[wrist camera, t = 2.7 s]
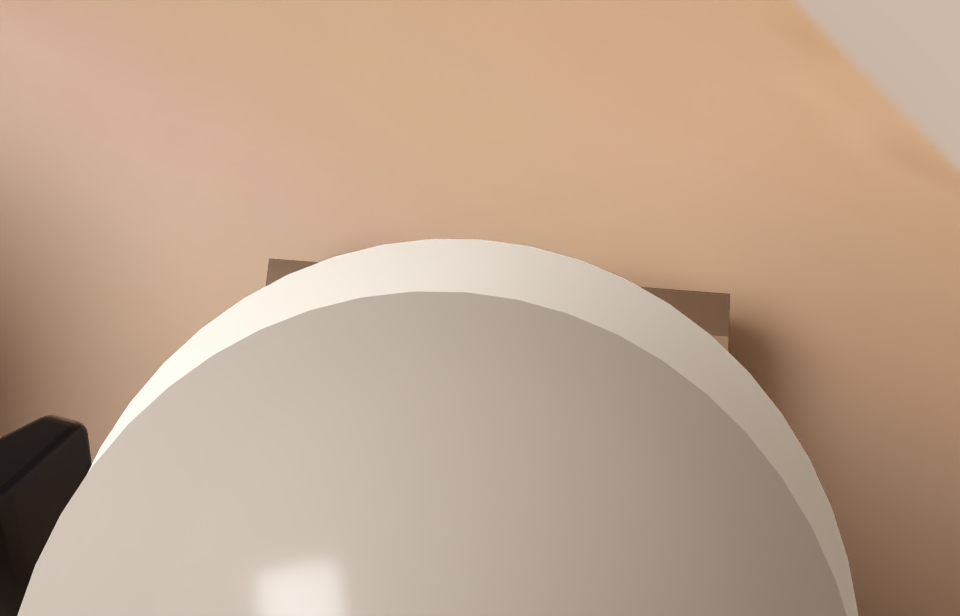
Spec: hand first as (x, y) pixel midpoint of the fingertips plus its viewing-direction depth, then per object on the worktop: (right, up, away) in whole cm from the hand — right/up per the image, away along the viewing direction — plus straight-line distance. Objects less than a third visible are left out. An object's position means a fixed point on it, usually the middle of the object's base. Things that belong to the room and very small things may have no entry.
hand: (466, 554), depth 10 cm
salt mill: (0, -1, +8) cm, 8 cm away
